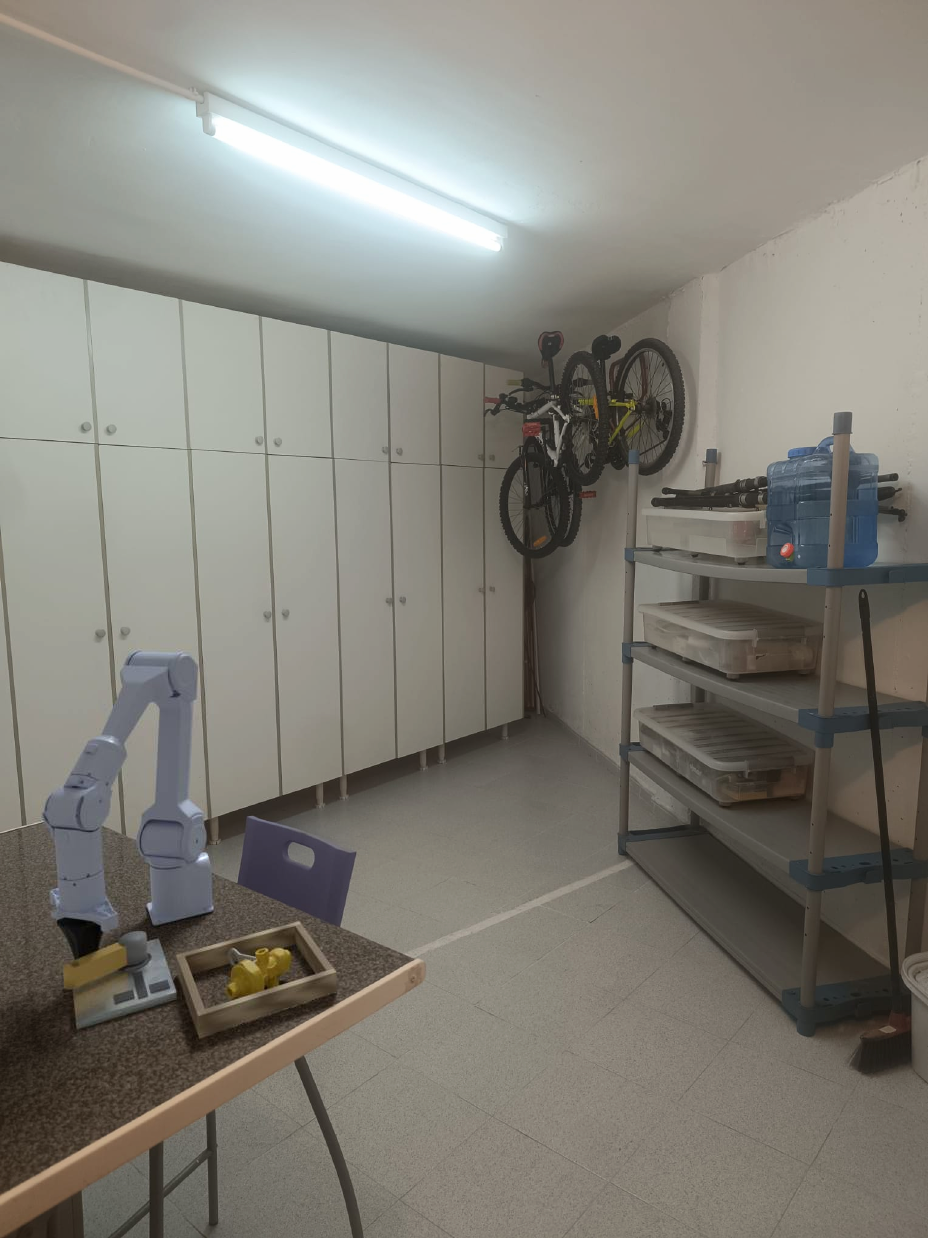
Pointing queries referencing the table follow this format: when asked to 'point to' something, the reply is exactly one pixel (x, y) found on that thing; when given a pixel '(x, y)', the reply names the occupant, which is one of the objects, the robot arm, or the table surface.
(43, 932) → the table surface
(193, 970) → the parts frame
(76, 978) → the handle
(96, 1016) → the base
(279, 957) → the pressure relief valve
